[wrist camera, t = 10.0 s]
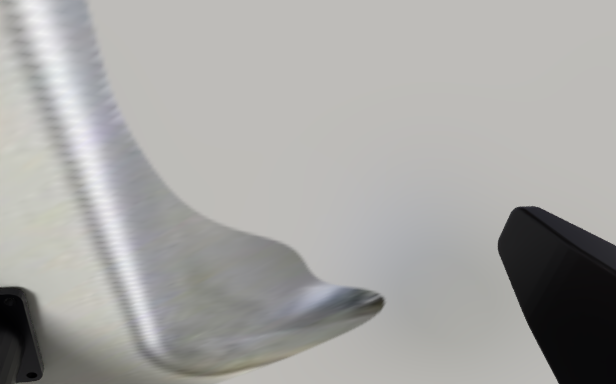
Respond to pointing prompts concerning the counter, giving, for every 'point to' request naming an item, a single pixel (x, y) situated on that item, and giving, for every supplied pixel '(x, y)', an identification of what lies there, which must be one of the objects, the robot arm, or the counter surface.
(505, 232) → the robot arm
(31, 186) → the counter surface
